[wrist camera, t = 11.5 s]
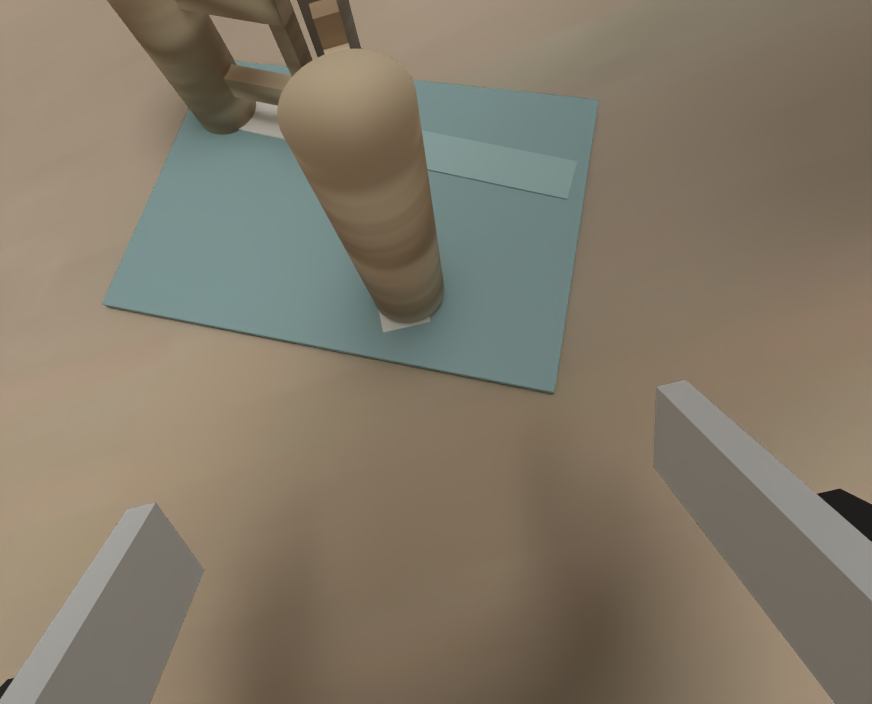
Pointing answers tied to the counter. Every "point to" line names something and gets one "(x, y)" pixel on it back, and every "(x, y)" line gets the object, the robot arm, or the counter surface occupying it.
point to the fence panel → (367, 166)
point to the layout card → (330, 263)
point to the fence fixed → (222, 52)
